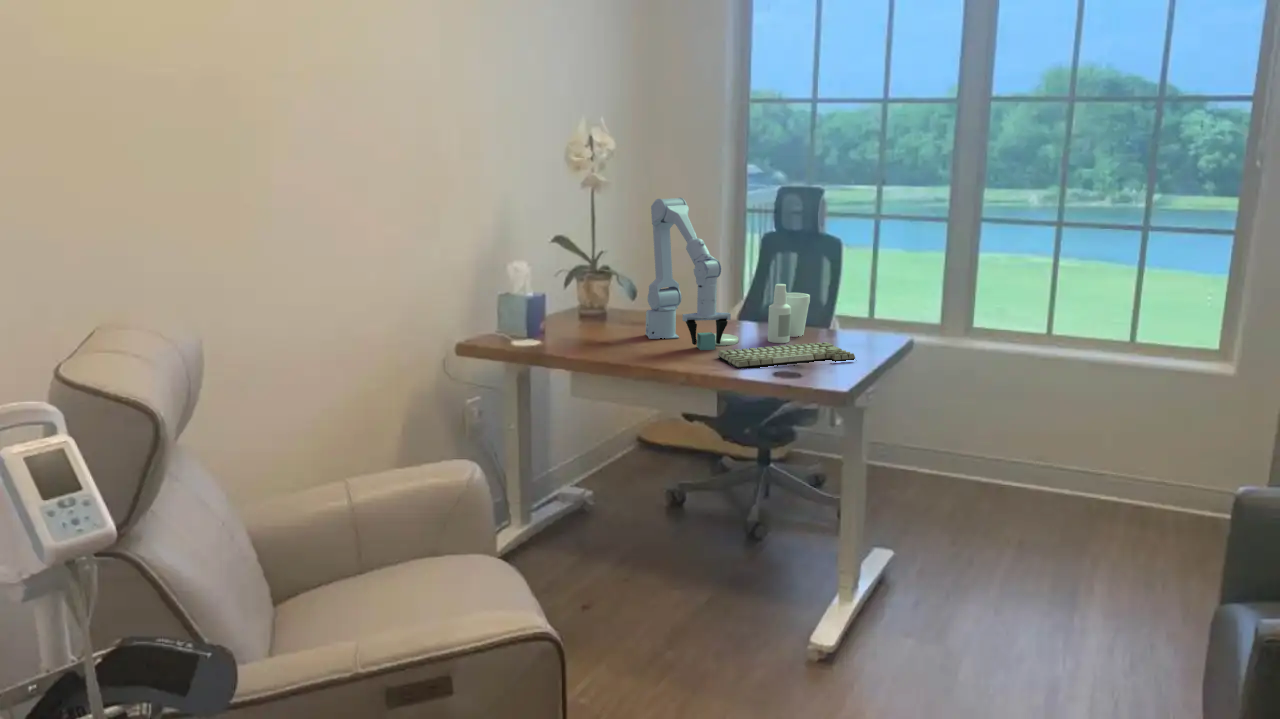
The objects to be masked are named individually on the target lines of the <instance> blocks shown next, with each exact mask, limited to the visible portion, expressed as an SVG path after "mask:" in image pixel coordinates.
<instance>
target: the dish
mask: <svg viewBox="0 0 1280 719" xmlns="http://www.w3.org/2000/svg"><path fill="white" fill-rule="evenodd" d="M712 333H713V332H712ZM713 334H714V335H715V347H717V346H718V347H725V346H726V345H727V346H733V345H737V344H738V343H739V337H738V336H737V335H734V334H729V333H723V334H722V337H721V341H720V344H717V343H716V333H713ZM727 346H726V347H727Z"/></svg>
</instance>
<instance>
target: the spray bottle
mask: <svg viewBox="0 0 1280 719" xmlns="http://www.w3.org/2000/svg"><path fill="white" fill-rule="evenodd" d="M786 287H787V284H785V283H776V284H775V285H774V290H773V301H772V302H773V303H772V304H769V306H768V321H767V322H768V323H767V326H768V327H767V341H768V342H769V343H771V344H786V343H789V342H790V341H791V339H790V338H791V336H790V317H791V307H790V306H789V305H788V304H787V298H786V296H787V293H788V291H787V288H786Z"/></svg>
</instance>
